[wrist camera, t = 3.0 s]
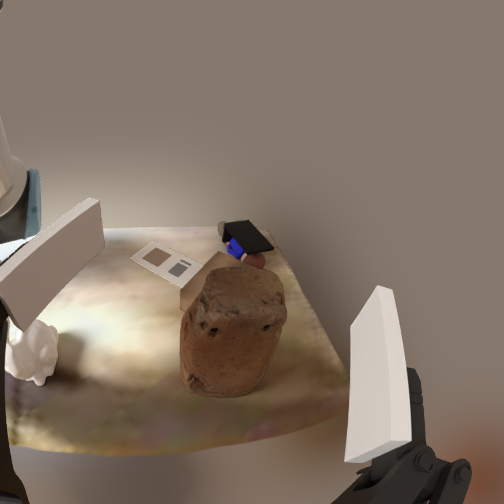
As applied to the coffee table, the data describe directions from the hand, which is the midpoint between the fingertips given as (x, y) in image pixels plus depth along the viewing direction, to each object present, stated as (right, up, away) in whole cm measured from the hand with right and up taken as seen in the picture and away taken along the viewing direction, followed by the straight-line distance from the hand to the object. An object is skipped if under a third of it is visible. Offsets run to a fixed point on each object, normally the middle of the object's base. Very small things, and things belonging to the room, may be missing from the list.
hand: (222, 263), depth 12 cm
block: (-4, -19, +26) cm, 32 cm away
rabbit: (-32, -18, +18) cm, 41 cm away
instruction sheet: (-16, -2, +44) cm, 47 cm away
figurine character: (-2, 0, +51) cm, 51 cm away
